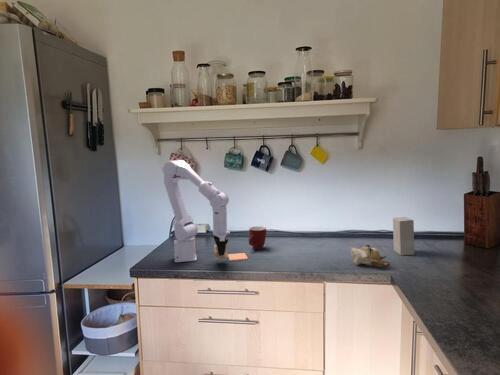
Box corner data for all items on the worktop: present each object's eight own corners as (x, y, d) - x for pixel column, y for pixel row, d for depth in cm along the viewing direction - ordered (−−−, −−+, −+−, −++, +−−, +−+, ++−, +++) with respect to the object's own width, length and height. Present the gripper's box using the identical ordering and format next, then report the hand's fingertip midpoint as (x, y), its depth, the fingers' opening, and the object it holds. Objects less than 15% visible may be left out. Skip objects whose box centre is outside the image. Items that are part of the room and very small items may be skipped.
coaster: (229, 261, 155) (229, 259, 155) (227, 255, 163) (227, 254, 163) (248, 259, 157) (247, 258, 157) (244, 254, 165) (244, 252, 165)
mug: (258, 253, 165) (258, 232, 164) (243, 251, 169) (243, 230, 168) (269, 247, 174) (269, 227, 173) (254, 245, 178) (254, 225, 177)
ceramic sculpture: (350, 239, 153) (386, 243, 150) (348, 259, 155) (384, 262, 152) (351, 247, 143) (391, 250, 140) (350, 267, 144) (389, 272, 141)
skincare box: (414, 255, 158) (416, 220, 156) (398, 255, 158) (399, 220, 156) (406, 249, 167) (408, 216, 165) (391, 249, 167) (392, 216, 165)
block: (215, 259, 150) (215, 247, 149) (214, 255, 154) (214, 244, 154) (227, 258, 150) (227, 246, 150) (226, 254, 155) (225, 243, 155)
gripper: (231, 225, 144) (232, 257, 146) (227, 217, 158) (227, 247, 160) (214, 226, 143) (215, 259, 145) (211, 218, 157) (212, 248, 159)
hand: (220, 253), depth 152 cm, fingers closed on block, 5 cm apart
